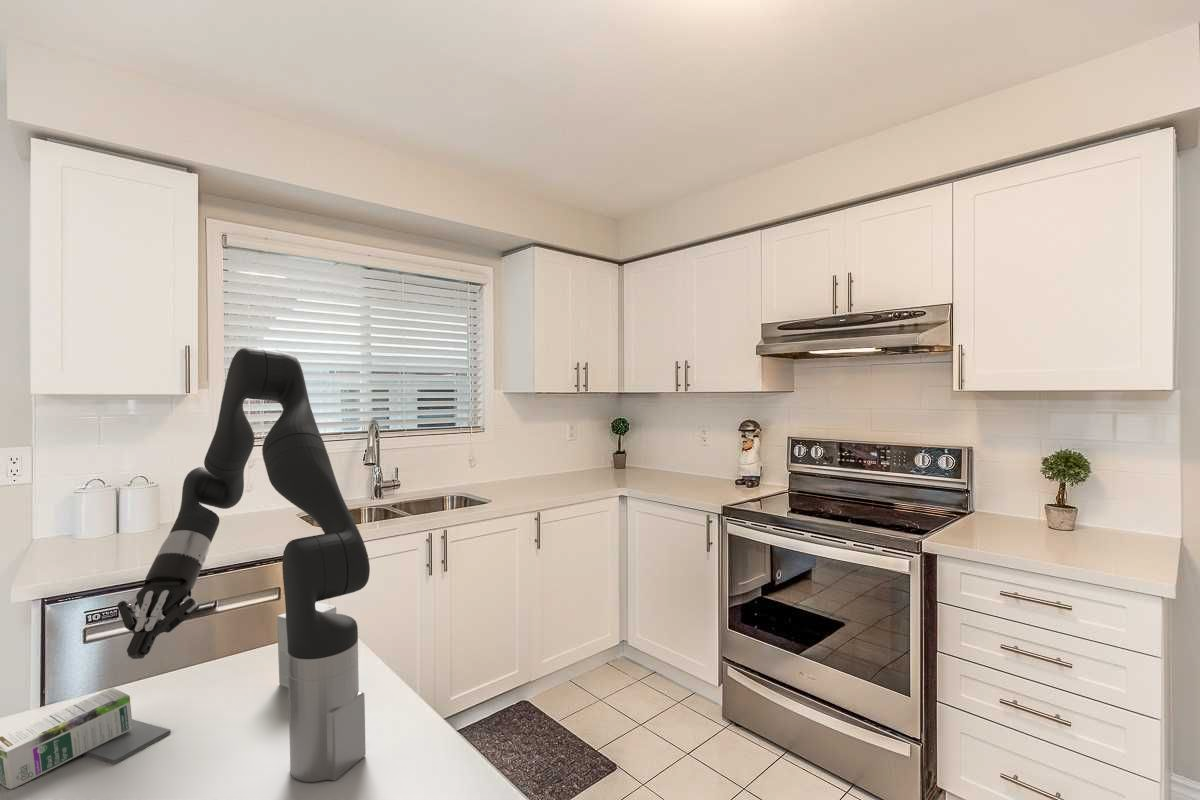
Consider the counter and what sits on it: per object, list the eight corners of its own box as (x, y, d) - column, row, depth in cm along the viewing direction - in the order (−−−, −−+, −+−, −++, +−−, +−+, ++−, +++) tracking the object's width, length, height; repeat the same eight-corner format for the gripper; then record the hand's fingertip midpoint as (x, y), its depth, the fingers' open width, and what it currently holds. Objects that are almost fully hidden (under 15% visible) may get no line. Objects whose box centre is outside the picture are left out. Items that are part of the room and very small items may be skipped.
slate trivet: (170, 733, 93) (170, 729, 93) (114, 764, 85) (114, 760, 85) (116, 718, 97) (116, 714, 97) (58, 746, 89) (58, 742, 89)
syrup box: (134, 729, 92) (10, 792, 79) (116, 719, 95) (-7, 778, 82) (131, 695, 92) (5, 753, 79) (112, 685, 94) (-13, 740, 82)
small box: (317, 666, 115) (315, 600, 114) (338, 673, 112) (337, 606, 111) (277, 685, 107) (276, 615, 107) (300, 693, 104) (298, 621, 104)
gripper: (131, 552, 105) (78, 650, 93) (208, 549, 106) (167, 646, 94) (151, 572, 110) (104, 667, 98) (225, 569, 112) (188, 663, 100)
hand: (135, 657), depth 96 cm, fingers closed
